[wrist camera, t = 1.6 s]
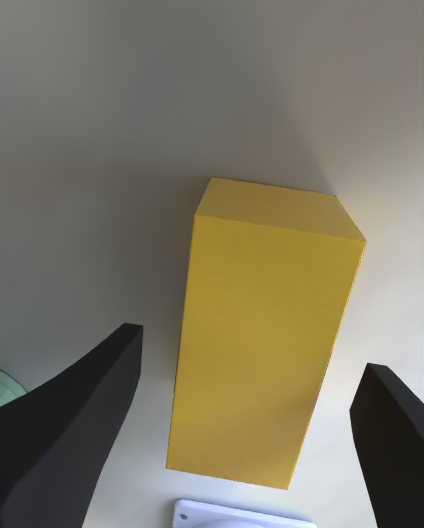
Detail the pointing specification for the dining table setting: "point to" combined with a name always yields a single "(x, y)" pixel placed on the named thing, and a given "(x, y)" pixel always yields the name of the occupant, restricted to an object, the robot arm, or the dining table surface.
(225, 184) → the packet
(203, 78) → the dining table surface
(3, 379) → the mug
